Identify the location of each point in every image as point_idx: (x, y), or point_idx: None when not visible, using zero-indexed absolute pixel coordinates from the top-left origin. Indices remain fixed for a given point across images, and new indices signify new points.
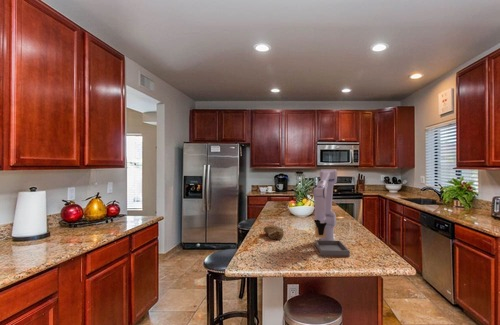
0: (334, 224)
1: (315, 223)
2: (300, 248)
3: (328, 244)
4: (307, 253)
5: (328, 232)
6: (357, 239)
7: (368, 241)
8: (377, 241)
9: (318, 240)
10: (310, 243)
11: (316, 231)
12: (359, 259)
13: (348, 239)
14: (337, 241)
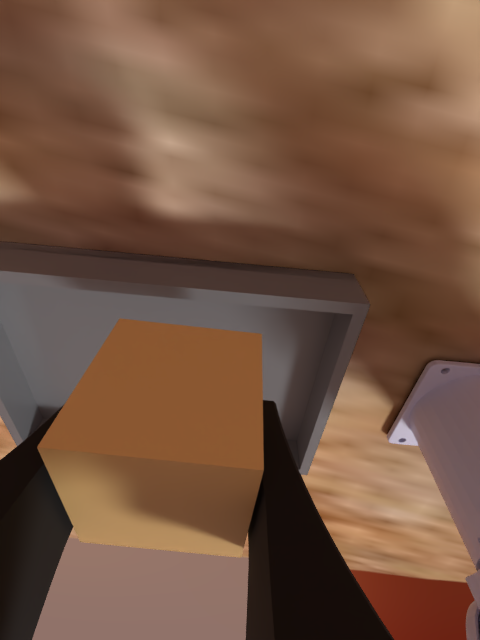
0: (467, 637)
1: (294, 611)
2: (254, 25)
3: (313, 385)
4: (18, 91)
5: (456, 492)
6: (421, 534)
7: (362, 550)
8: (351, 567)
9: (354, 336)
10: (460, 244)
11: (69, 401)
12: (6, 436)
13: (443, 508)
14: (301, 457)
